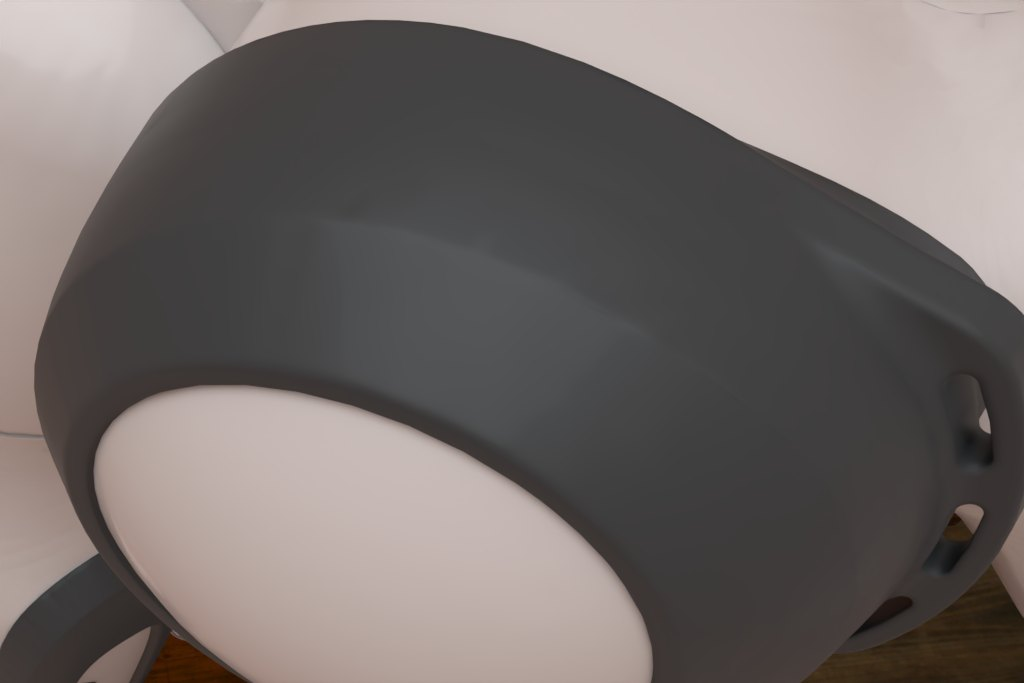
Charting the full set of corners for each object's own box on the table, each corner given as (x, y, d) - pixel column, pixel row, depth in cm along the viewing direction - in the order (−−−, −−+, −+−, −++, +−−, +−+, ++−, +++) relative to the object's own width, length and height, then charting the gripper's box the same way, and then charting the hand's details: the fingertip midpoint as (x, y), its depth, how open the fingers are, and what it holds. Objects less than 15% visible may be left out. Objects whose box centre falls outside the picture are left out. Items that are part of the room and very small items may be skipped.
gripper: (170, 634, 49) (405, 484, 55) (-24, 347, 57) (202, 246, 63) (183, 681, 54) (397, 538, 60) (3, 411, 62) (210, 311, 68)
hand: (296, 386), depth 62 cm, fingers open, 8 cm apart
